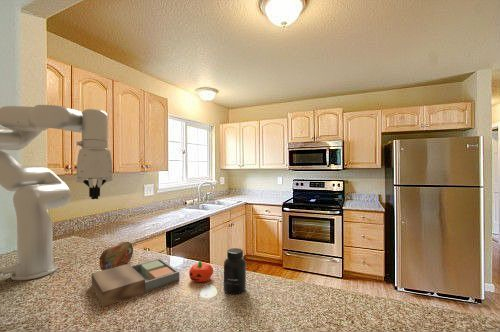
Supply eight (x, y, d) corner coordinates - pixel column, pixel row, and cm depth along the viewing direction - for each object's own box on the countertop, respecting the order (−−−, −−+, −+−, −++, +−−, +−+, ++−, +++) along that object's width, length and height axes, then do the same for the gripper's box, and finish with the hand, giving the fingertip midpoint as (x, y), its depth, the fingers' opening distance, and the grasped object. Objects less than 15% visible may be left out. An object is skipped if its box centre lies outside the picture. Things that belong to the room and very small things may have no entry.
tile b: (164, 264, 86) (164, 272, 86) (157, 260, 90) (157, 266, 90) (146, 269, 82) (146, 277, 82) (140, 264, 86) (140, 271, 86)
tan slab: (102, 306, 65) (102, 292, 65) (91, 285, 77) (91, 273, 77) (144, 292, 73) (144, 279, 73) (128, 275, 85) (128, 263, 85)
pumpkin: (214, 283, 79) (215, 265, 79) (189, 287, 77) (189, 268, 76) (211, 272, 86) (211, 254, 85) (188, 275, 84) (188, 257, 83)
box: (145, 292, 73) (145, 282, 73) (129, 275, 85) (129, 266, 85) (179, 280, 80) (179, 271, 80) (160, 266, 92) (160, 258, 92)
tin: (105, 276, 84) (105, 251, 84) (97, 275, 85) (97, 251, 85) (133, 259, 99) (133, 239, 99) (127, 259, 100) (127, 238, 100)
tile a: (174, 272, 80) (174, 279, 80) (166, 266, 84) (166, 273, 84) (155, 277, 76) (155, 285, 76) (148, 271, 80) (148, 279, 80)
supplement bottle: (228, 297, 70) (228, 256, 70) (220, 287, 76) (220, 249, 76) (249, 291, 73) (249, 252, 73) (240, 282, 79) (240, 245, 79)
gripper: (69, 143, 76) (69, 202, 76) (121, 146, 86) (121, 198, 86) (66, 145, 82) (66, 199, 82) (116, 147, 92) (115, 196, 92)
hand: (94, 198), depth 84 cm, fingers closed
